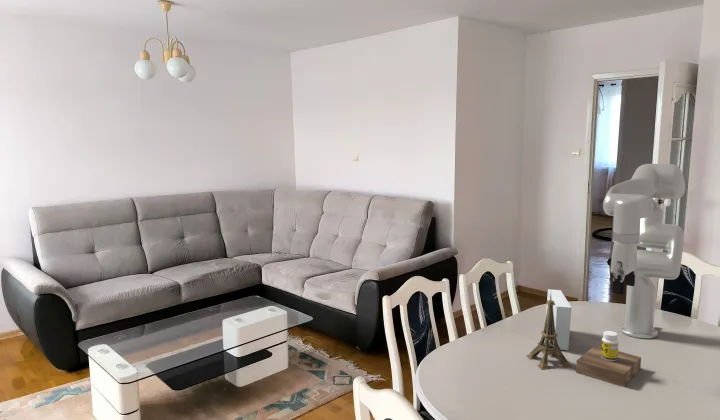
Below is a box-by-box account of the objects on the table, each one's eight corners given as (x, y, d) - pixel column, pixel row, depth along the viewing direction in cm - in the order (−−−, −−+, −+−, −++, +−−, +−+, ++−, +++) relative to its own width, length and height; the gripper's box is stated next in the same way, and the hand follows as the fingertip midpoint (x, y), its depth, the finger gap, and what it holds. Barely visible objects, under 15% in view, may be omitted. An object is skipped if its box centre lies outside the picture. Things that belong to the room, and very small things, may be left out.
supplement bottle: (598, 355, 165) (599, 330, 164) (612, 354, 165) (613, 329, 164) (606, 362, 160) (607, 336, 159) (620, 361, 161) (622, 335, 159)
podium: (595, 356, 174) (595, 345, 173) (640, 368, 164) (641, 357, 163) (576, 372, 162) (576, 360, 162) (623, 386, 153) (624, 374, 152)
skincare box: (570, 351, 178) (572, 307, 176) (553, 350, 179) (555, 306, 177) (559, 328, 199) (561, 289, 196) (544, 328, 200) (546, 288, 198)
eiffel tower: (541, 369, 165) (544, 294, 161) (526, 356, 175) (528, 285, 172) (571, 367, 167) (575, 292, 163) (554, 353, 177) (557, 283, 173)
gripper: (623, 230, 170) (620, 280, 173) (603, 241, 158) (601, 294, 161) (648, 233, 165) (645, 284, 168) (629, 244, 153) (626, 299, 156)
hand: (623, 289), depth 164 cm, fingers open, 9 cm apart
